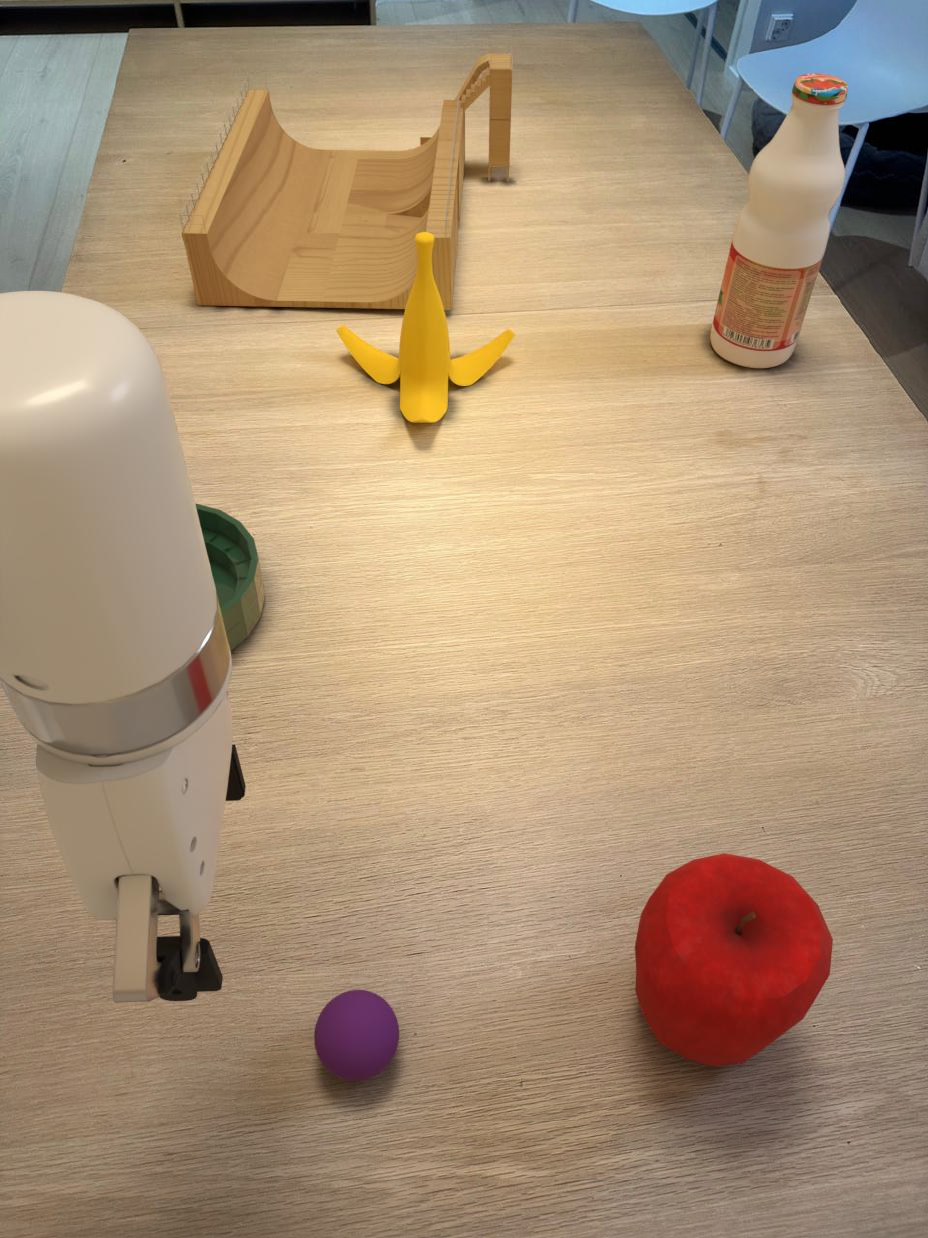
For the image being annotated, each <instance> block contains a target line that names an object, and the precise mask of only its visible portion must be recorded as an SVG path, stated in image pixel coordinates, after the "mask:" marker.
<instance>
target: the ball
mask: <svg viewBox="0 0 928 1238" xmlns="http://www.w3.org/2000/svg"><path fill="white" fill-rule="evenodd" d="M398 1021H399V1020H398V1017H397V1015H396V1013H395V1011H394V1009H393V1007H392V1006H391V1005H390V1004H389V1002H387V1000H385V999H384V997H382V996H380V995H379V994H377V993H375V992H372V991H369V990H365V989H351V990H347V991H344V992H342V993H340V994H338V995H335V996H334V997H333V998H332V999H331V1000H330V1001H329V1002H327V1003H326V1005H325V1006H324V1007H323V1008H322V1009H321V1011H320V1013H319V1015H318V1017H317V1020H316V1023H315V1027H314V1032H313V1033H314V1034H313V1038H314V1039H313V1040H314V1047H315V1051H316V1054H317V1057H318V1058H319V1060H320V1062H321V1064H322V1065H323V1066H324V1068H325V1069H326V1070H327V1071H328V1072H329V1073H331V1074H332V1075H334V1076H335V1077H336V1078H339V1079H342V1080H345V1081H350V1082H361V1081H365V1080H369V1079H371V1078H374V1077H375V1076H377V1075H379V1074H380V1073H382V1072H383V1071H384V1070H385V1069H386V1068H387V1067H388V1066H389V1064H390V1063H391V1062H392V1060H393V1058H394V1056H395V1055H396V1052H397V1049H398V1047H399V1041H400V1027H399V1022H398Z"/></svg>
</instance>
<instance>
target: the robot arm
mask: <svg viewBox="0 0 928 1238" xmlns="http://www.w3.org/2000/svg"><path fill="white" fill-rule="evenodd" d="M172 402H173V401H172V399H171V394H170V389H169V386H168V382H167V379H166V376H165V373H164V369H163V366H162V363H161V360H160V357H159V356H158V354H157V352H156V350H155V348H154V347H153V345H152V343H150V341H149V340H148V338H147V337H146V336H145V334H144V333H143V332H142V330H141V329H140V328H139V327H138V326H137V325H136V324H135V323H134V322H133V321H131V320H129V318H127V317H126V316H125V315H123V313H121V312H119V311H118V310H116V309H114V308H112V307H111V306H109V305H107V304H105V303H103V302H101V301H98V300H93V299H91V298H87V297H84V296H82V295H81V296H80V295H77V294H73V293H67V292H62V291H50V290H18V291H11V292H10V291H9V292H1V293H0V686H1V688H2V689H3V691H4V693H5V695H6V697H7V699H8V701H9V703H10V705H11V707H12V709H13V711H14V713H15V715H16V717H17V718H18V721H19V722H20V724H21V726H22V728H23V729H24V731H25V733H26V734H27V735H28V736H29V737H30V739H31V740H32V741H33V742H34V743H35V744H36V752H35V753H36V754H35V767H36V771H37V777H38V778H37V779H38V782H39V787H40V788H39V789H40V793H41V797H42V801H43V805H44V807H45V813H46V814H45V815H46V817H47V820H48V823H49V826H50V829H51V832H52V833H51V834H52V836H53V838H54V841H55V843H56V846H57V849H58V852H59V855H60V856H61V859H62V861H63V864H64V867H65V869H66V871H67V873H68V876H69V878H70V880H71V883H72V885H73V887H74V889H75V891H76V893H77V895H78V897H79V899H80V901H81V903H82V905H83V907H84V908H85V910H86V911H87V913H88V914H89V915H90V917H92V918H93V919H94V920H97V921H98V920H99V921H116V922H115V926H116V927H115V941H114V956H113V957H114V960H113V975H112V976H113V978H112V1000H113V1003H116V1004H119V1003H150V1002H152V1001H154V1000H156V999H158V998H159V999H161V1000H164V1001H168V1002H187V1001H193V1000H195V999H197V997H198V993H204V992H205V993H206V992H209V993H210V992H218V991H220V990H222V988H223V979H224V976H223V973H222V971H221V969H220V965H219V963H218V959H217V958H216V955H215V952H214V950H213V948H212V945H211V942H210V940H208V939H207V938H203V937H201V928H200V914H201V913H202V912H203V911H204V910H205V909H206V908H207V906H208V905H209V904H210V901H211V898H212V896H213V895H212V894H213V891H214V885H215V879H216V878H215V877H216V873H217V866H218V859H219V851H220V844H221V838H222V831H223V823H224V816H225V808H226V802H237V801H241V800H242V798H244V797H245V796H246V787H247V785H246V781H245V776H244V773H243V769H242V765H241V762H240V759H239V754H238V750H237V747H236V746H237V745H236V744H233V741H234V740H233V738H234V721H233V720H234V719H233V712H232V706H231V700H230V695H229V692H228V690H229V686H230V683H231V680H232V673H233V659H232V650H231V651H230V647H229V643H228V639H227V635H226V631H225V627H224V622H223V618H222V614H221V610H220V605H219V601H218V597H217V593H216V588H215V584H214V579H213V576H212V572H211V567H210V563H209V559H208V555H207V551H206V547H205V542H204V538H203V534H202V530H201V526H200V522H199V517H198V513H197V509H196V505H195V503H196V501H195V496H194V493H193V488H192V484H191V480H190V475H189V471H188V467H187V463H186V458H185V454H184V449H183V445H182V440H181V437H180V433H179V427H178V423H177V419H176V415H175V411H174V407H173V403H172ZM159 916H178V921H179V922H178V923H179V935H168V936H167V935H166V936H158V931H159V930H158V929H159V928H158V925H159Z"/></svg>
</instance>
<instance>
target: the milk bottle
mask: <svg viewBox="0 0 928 1238" xmlns="http://www.w3.org/2000/svg"><path fill="white" fill-rule="evenodd" d="M848 92H849V85H848V83H847V82H846V81H845V80H844V79H842V78H840V77H837V76H834V75H830V74H825V73H817V72H815V73H813V72H811V73H805V74H801V75H799V76H797V78H796V79H795V81H794V83H793V86H792V88H791V95H790V98H791V101H792V103H791V106H790V107H789V110H788V112H787V114H786V115H785V118H784V119H783V121H782V123H781V124H780V126H779V128H778V129H777V131H776V133H775V134H774V135H773V137H772V139H771V140H770V141H769V142H768V143H767V144H766V145H765V146H764V147H763V148H761V149H760V150H759V152H758V153H757V154H756V155H755V157H754V159H753V161H752V164H751V166H750V170H749V172H748V177H747V191H748V192H747V195H748V196H747V201H746V202H745V204H744V206H743V207H742V209H741V210H740V212H739V214H738V217H737V220H736V223H735V227H734V230H733V233H732V237H731V243H730V247H729V252H728V256H727V259H726V260H727V261H726V264H725V269H724V273H723V277H722V281H721V285H720V290H719V293H718V298H717V302H716V307H715V311H714V316H713V318H712V319H713V320H712V324H711V328H710V344H711V348H713V350H714V351H715V353H716V354H717V355H719V356H720V357H721V358H722V359H724V360H726V361H727V362H729V363H732V364H734V365H737V366H741V367H745V368H751V369H769V368H774V367H778V366H779V365H782V364H784V363H786V361H788V360H789V359H790V358H791V356H792V355H793V353H794V351H795V348H796V346H797V343H798V339H799V337H800V333H801V331H802V330H801V329H802V326H803V323H804V320H805V316H806V314H807V311H808V307H809V304H810V301H811V297H812V294H813V292H814V288H815V285H816V282H817V278H818V275H819V271H820V268H821V265H822V261H823V259H824V256H825V253H826V249H827V246H828V241H829V238H830V232H831V219H830V215H831V211H832V210H833V208H834V206H835V205H836V204H837V202H838V200H839V198H840V196H841V195H842V191H843V188H844V184H845V181H846V180H845V179H846V168H845V164H844V161H843V158H842V153H841V147H840V134H839V133H840V132H839V130H840V129H839V128H840V127H839V112H840V109H841V108H842V107H844V105H845V102H846V100H847V97H848Z"/></svg>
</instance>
